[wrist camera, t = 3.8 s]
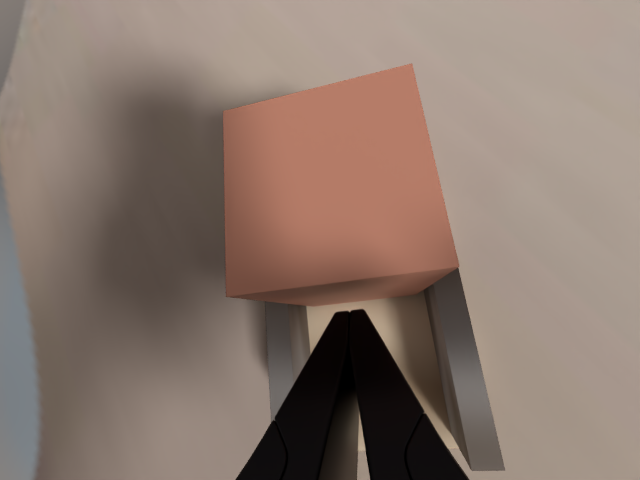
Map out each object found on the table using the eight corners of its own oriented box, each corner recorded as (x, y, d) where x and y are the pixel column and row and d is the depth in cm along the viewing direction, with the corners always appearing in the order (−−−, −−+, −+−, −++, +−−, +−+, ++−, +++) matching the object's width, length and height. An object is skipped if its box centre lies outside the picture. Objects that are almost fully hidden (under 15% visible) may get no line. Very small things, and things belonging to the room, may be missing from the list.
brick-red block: (415, 294, 14) (459, 266, 6) (313, 306, 15) (226, 296, 7) (397, 197, 15) (412, 63, 7) (304, 213, 16) (222, 111, 8)
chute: (486, 435, 13) (530, 488, 9) (293, 442, 15) (258, 489, 11) (416, 121, 17) (425, 64, 14) (273, 152, 19) (244, 109, 15)
